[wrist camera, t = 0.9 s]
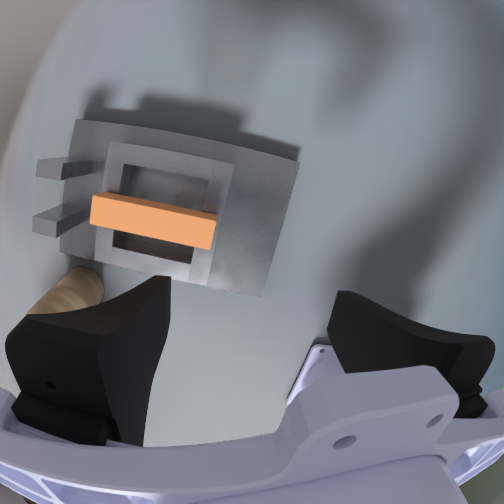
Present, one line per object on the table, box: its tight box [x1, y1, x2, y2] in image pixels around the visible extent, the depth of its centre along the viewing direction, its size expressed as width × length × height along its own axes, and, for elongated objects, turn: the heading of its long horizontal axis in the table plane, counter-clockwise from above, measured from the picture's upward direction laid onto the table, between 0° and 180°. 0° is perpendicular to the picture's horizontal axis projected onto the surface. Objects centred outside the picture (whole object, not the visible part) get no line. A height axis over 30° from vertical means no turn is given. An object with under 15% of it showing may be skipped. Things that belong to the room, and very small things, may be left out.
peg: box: [26, 266, 104, 315], centre depth 18 cm, size 4×4×7 cm
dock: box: [32, 119, 300, 297], centre depth 17 cm, size 16×10×5 cm, turn 75°
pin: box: [90, 192, 217, 250], centre depth 15 cm, size 7×2×2 cm, turn 75°
